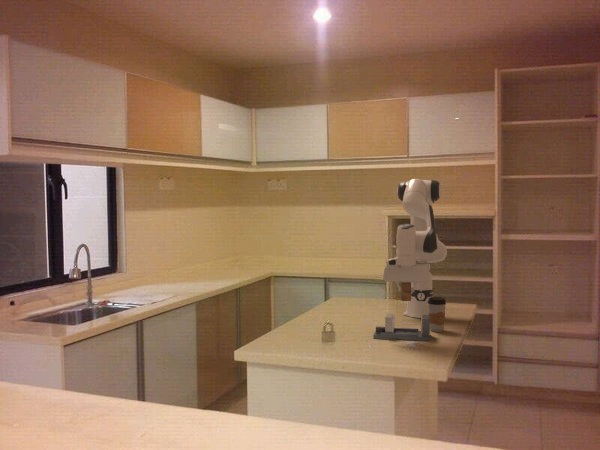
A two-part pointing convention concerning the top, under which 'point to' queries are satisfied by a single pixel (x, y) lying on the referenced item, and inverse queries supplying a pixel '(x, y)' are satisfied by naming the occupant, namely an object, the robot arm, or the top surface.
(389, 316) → the jaw
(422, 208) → the robot arm
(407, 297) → the block
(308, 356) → the top surface
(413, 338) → the vise
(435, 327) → the coffee cup
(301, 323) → the top surface
